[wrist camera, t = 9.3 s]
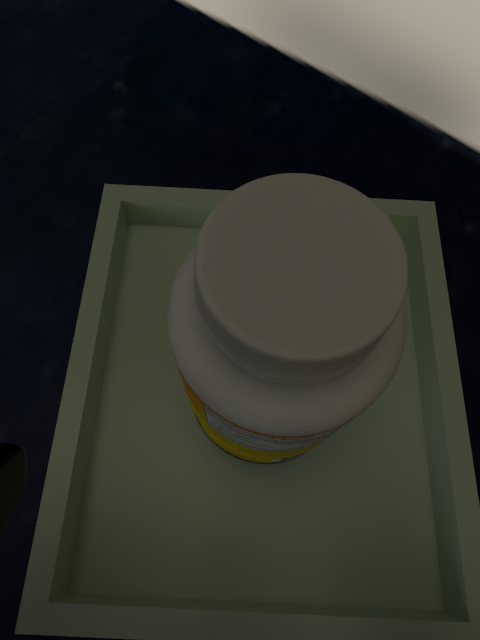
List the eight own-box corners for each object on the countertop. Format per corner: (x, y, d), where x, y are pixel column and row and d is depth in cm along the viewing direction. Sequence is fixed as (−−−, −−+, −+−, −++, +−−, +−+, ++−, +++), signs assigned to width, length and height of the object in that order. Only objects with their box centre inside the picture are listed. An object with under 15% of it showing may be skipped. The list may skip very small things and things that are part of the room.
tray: (460, 635, 15) (501, 656, 13) (46, 615, 15) (14, 633, 13) (412, 234, 22) (434, 201, 19) (117, 219, 22) (104, 184, 19)
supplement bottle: (223, 307, 19) (219, 106, 10) (350, 354, 18) (482, 188, 9) (166, 433, 17) (91, 335, 8) (308, 491, 16) (420, 463, 7)
